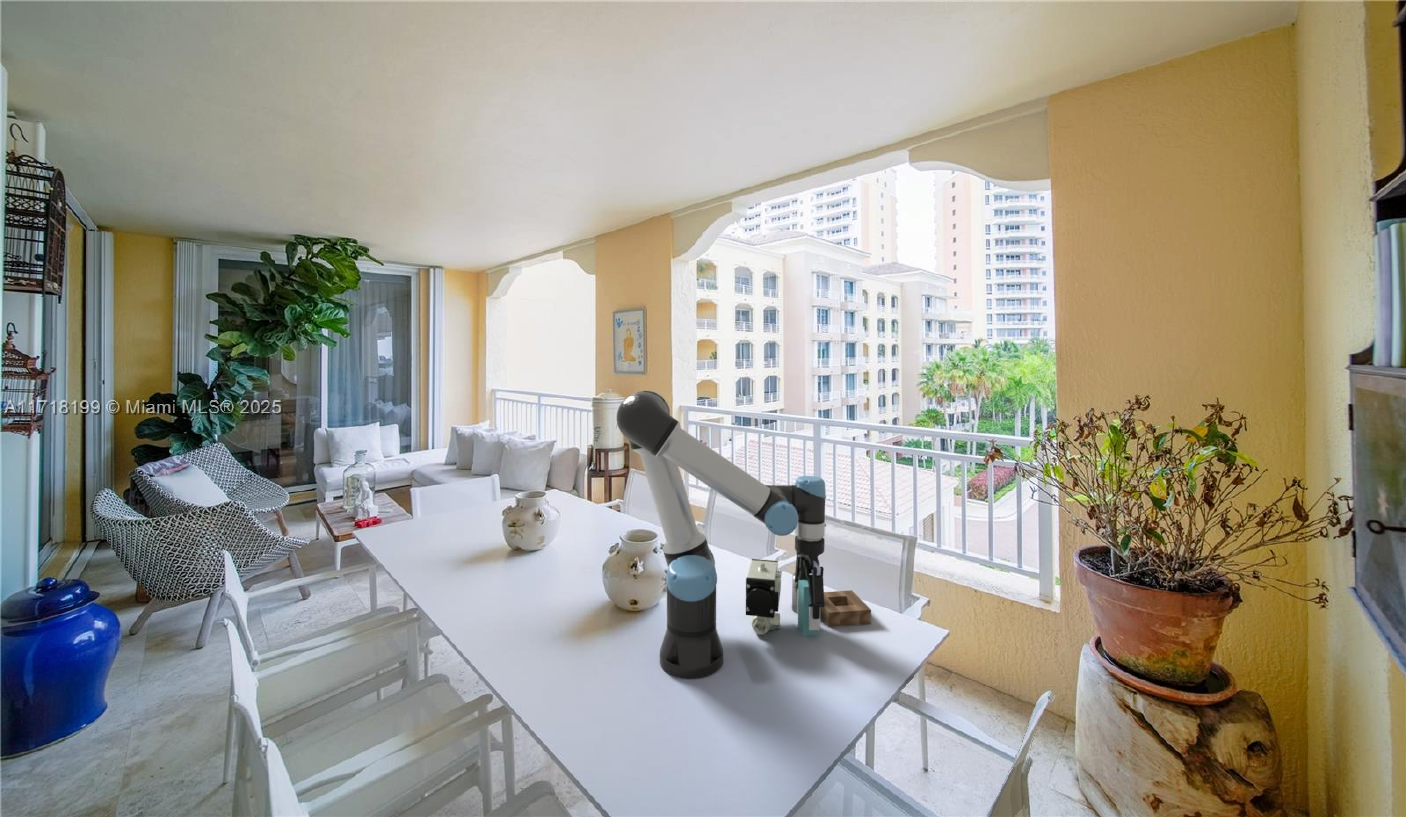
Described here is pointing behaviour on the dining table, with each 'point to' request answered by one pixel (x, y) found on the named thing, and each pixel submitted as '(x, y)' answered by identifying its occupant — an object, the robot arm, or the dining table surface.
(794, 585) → the round bit
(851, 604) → the bore block
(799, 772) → the dining table surface
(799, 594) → the square bit
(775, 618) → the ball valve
